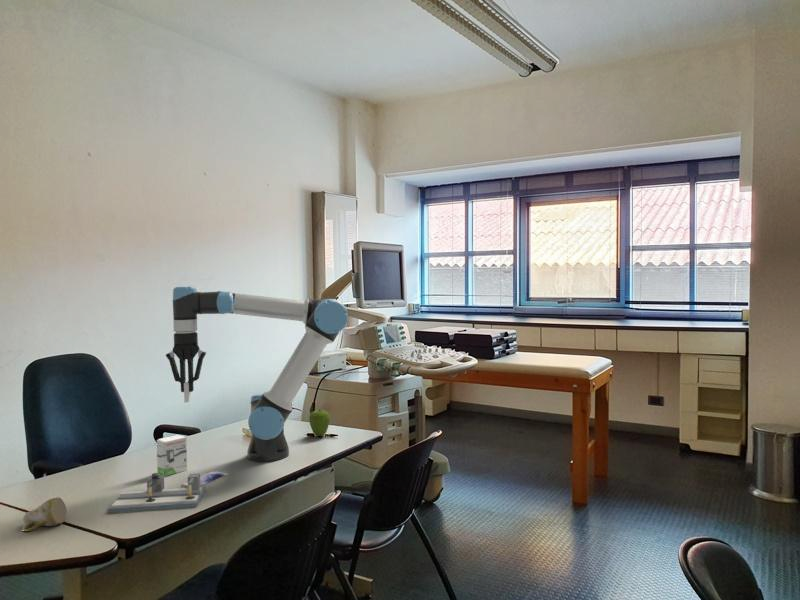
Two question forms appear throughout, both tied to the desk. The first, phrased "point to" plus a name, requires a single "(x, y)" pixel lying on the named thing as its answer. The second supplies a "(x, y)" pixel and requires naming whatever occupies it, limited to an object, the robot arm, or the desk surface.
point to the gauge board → (161, 498)
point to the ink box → (171, 455)
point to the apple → (319, 422)
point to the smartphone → (208, 478)
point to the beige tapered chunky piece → (46, 514)
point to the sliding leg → (155, 484)
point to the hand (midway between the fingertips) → (187, 401)
